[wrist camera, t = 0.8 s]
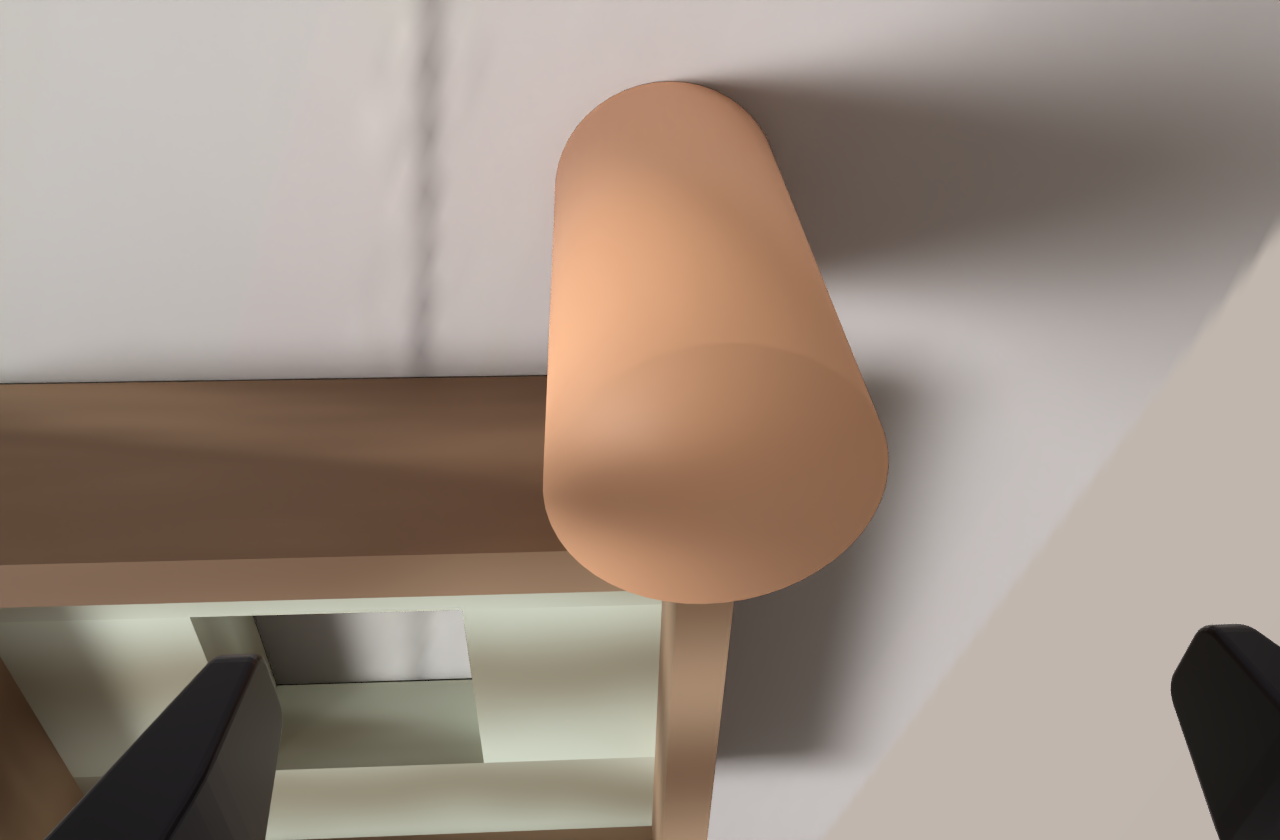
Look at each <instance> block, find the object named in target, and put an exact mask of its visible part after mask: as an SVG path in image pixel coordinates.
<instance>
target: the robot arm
mask: <svg viewBox="0 0 1280 840" xmlns="http://www.w3.org/2000/svg"><path fill="white" fill-rule="evenodd" d="M1171 696H1172V701H1173V704H1174V708H1175V710H1176V713H1177V716H1178V719H1179V722H1180V725H1181V728H1182V731H1183V734H1184V737H1185V740H1186V743H1187V746H1188V749H1189V752H1190V755H1191V758H1192V761H1193V764H1194V766H1195V770H1196V773H1197V776H1198V778H1199V782H1200V784H1201V788H1202V790H1203V793H1204V796H1205V799H1206V802H1207V805H1208V808H1209V811H1210V814H1211V817H1212V820H1213V823H1214V826H1215V829H1216V831H1217V834H1218V836H1219V839H1220V840H1280V646H1278V645H1277V644H1275V643H1274V642H1272V641H1271V640H1270V639H1268V638H1267V637H1265V636H1264V635H1263V634H1261V633H1260V632H1258V631H1257V630H1255V629H1253V628H1251V627H1249V626H1246V625H1241V624H1224V625H1208V626H1204V627H1203V628H1201V629H1200V630H1198V632H1197V633H1196V634H1195V636H1194V638H1193V640H1192V641H1191V643H1190V645H1189V647H1188V649H1187V651H1186V652H1185V654H1184V656H1183V658H1182V659H1181V662H1180V663H1179V665H1178V667H1177V668H1176V670H1175V672H1174V674H1173V676H1172V681H1171ZM282 722H283V719H282V708H281V704H280V701H279V698H278V695H277V692H276V689H275V686H274V683H273V681H272V678H271V675H270V672H269V669H268V666H267V663H266V661H265V659H264V658H263V657H262V656H261V655H259V654H224V655H219V656H217V657H215V658H213V659H212V660H211V661H210V662H208V663H207V664H206V666H205V667H204V668H203V669H202V670H201V671H200V672H199V673H198V674H197V675H196V676H195V677H194V678H193V679H192V681H191V682H190V683H189V684H188V685H187V686H186V687H185V688H184V689H183V690H182V691H181V692H180V693H179V695H178V696H177V697H176V698H175V699H174V700H173V701H172V702H171V703H170V704H169V705H168V706H167V707H166V708H165V710H164V711H163V712H162V713H161V714H160V715H159V716H158V717H157V718H156V719H155V720H154V721H153V722H152V724H151V725H150V726H149V727H148V728H147V729H146V730H145V731H144V732H143V733H142V734H141V735H140V736H139V737H138V739H137V740H136V741H135V742H134V743H133V744H132V745H131V746H130V747H129V748H128V749H127V750H126V751H125V753H124V754H123V755H122V756H121V757H120V758H119V759H118V760H117V761H116V762H115V763H114V764H113V765H112V766H111V768H110V769H109V770H108V771H107V772H106V773H105V774H104V775H103V776H102V777H101V778H100V779H99V780H98V782H97V783H96V784H95V785H94V786H93V787H92V788H91V789H90V790H89V791H88V792H87V793H86V794H85V795H84V797H83V798H82V799H81V800H80V801H79V802H78V803H77V804H76V805H75V806H74V807H73V808H72V809H71V811H70V812H69V813H68V814H67V815H66V816H65V817H64V818H63V819H62V820H61V821H60V822H59V823H58V824H57V826H56V827H55V828H54V829H53V830H52V831H51V832H50V833H49V834H48V835H47V836H46V837H45V838H44V840H265V838H266V831H267V825H268V818H269V812H270V805H271V799H272V792H273V786H274V779H275V773H276V766H277V760H278V753H279V747H280V740H281V734H282Z"/></svg>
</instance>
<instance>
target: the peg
mask: <svg viewBox="0 0 1280 840" xmlns="http://www.w3.org/2000/svg"><path fill="white" fill-rule="evenodd" d="M888 468H889V464H888V447H887V442H886V438H885V433H884V431H883V428H882V426H881V423H880V421H879V418H878V416H877V413H876V411H875V408H874V406H873V403H872V401H871V398H870V396H869V393H868V391H867V388H866V386H865V383H864V381H863V378H862V376H861V373H860V371H859V368H858V366H857V363H856V361H855V358H854V356H853V353H852V351H851V348H850V346H849V343H848V341H847V338H846V336H845V333H844V331H843V328H842V326H841V323H840V321H839V318H838V316H837V313H836V311H835V308H834V306H833V303H832V301H831V298H830V296H829V293H828V291H827V288H826V286H825V283H824V281H823V278H822V276H821V273H820V271H819V268H818V266H817V263H816V261H815V258H814V256H813V253H812V251H811V248H810V246H809V243H808V241H807V238H806V236H805V233H804V231H803V228H802V226H801V223H800V221H799V218H798V216H797V213H796V211H795V208H794V206H793V203H792V201H791V198H790V196H789V193H788V191H787V188H786V186H785V183H784V181H783V178H782V176H781V173H780V171H779V168H778V166H777V163H776V161H775V158H774V156H773V153H772V151H771V148H770V146H769V144H768V141H767V139H766V137H765V135H764V133H763V132H762V130H761V128H760V127H759V125H758V124H757V123H756V122H755V120H754V119H753V118H752V117H751V115H750V114H749V113H747V112H746V111H745V110H744V109H743V108H742V107H741V106H740V105H739V104H737V103H736V102H734V101H733V100H731V99H730V98H729V97H727V96H725V95H723V94H721V93H719V92H717V91H715V90H712V89H709V88H707V87H704V86H701V85H696V84H691V83H686V82H672V81H668V82H654V83H649V84H644V85H639V86H636V87H633V88H630V89H627V90H624V91H622V92H620V93H618V94H616V95H614V96H612V97H610V98H609V99H607V100H606V101H604V102H603V103H601V104H600V105H598V106H597V107H596V108H595V109H594V110H592V111H591V112H590V113H589V114H588V115H587V116H586V117H585V118H584V119H583V120H582V121H581V123H580V124H579V125H578V126H577V127H576V129H575V130H574V132H573V133H572V135H571V136H570V138H569V139H568V141H567V144H566V146H565V148H564V150H563V152H562V155H561V158H560V161H559V164H558V169H557V174H556V183H555V207H554V231H553V255H552V278H551V302H550V326H549V350H548V374H547V397H546V421H545V445H544V469H543V496H544V503H545V509H546V512H547V515H548V518H549V521H550V524H551V526H552V528H553V530H554V531H555V533H556V535H557V537H558V539H559V540H560V542H561V543H562V544H563V546H564V547H565V548H566V550H567V551H568V552H569V553H570V554H571V555H572V556H573V557H574V558H575V559H576V560H577V561H578V562H579V563H580V564H581V565H582V566H584V567H585V568H586V569H587V570H589V571H590V572H591V573H593V574H594V575H596V576H597V577H599V578H601V579H602V580H604V581H606V582H608V583H609V584H611V585H614V586H616V587H618V588H620V589H623V590H625V591H627V592H630V593H634V594H637V595H640V596H643V597H646V598H651V599H656V600H661V601H666V602H675V603H684V604H713V603H727V602H733V601H739V600H745V599H750V598H754V597H758V596H762V595H766V594H769V593H771V592H774V591H777V590H780V589H783V588H786V587H788V586H790V585H792V584H794V583H797V582H799V581H801V580H803V579H805V578H807V577H809V576H810V575H812V574H814V573H815V572H817V571H819V570H821V569H822V568H823V567H825V566H826V565H828V564H829V563H830V562H832V561H833V560H835V559H836V558H837V557H838V556H839V555H841V554H842V553H843V552H844V551H845V550H846V549H847V548H848V547H849V546H851V544H852V543H853V542H854V541H855V540H856V539H857V538H858V537H859V535H860V534H861V533H862V532H863V531H864V529H865V528H866V526H867V525H868V523H869V522H870V520H871V519H872V517H873V516H874V514H875V512H876V510H877V508H878V506H879V503H880V501H881V499H882V496H883V492H884V489H885V486H886V482H887V475H888Z"/></svg>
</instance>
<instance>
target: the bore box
mask: <svg viewBox="0 0 1280 840" xmlns="http://www.w3.org/2000/svg"><path fill="white" fill-rule="evenodd" d="M546 397H547V376H520V377H455V378H391V379H326V380H261V381H197V382H132V383H67V384H3V385H0V840H44V838H45V837H46V836H47V835H48V834H49V833H50V832H51V831H52V830H53V829H54V828H55V827H56V826H57V824H58V823H59V822H60V821H61V820H62V819H63V818H64V817H65V816H66V815H67V814H68V813H69V812H70V811H71V809H72V808H73V807H74V806H75V805H76V804H77V803H78V802H79V801H80V800H81V799H82V798H83V797H84V795H85V794H86V793H87V792H88V791H89V790H90V789H91V788H92V787H93V786H94V785H95V784H96V783H97V782H98V780H99V779H100V778H101V777H102V776H103V775H104V774H105V773H106V772H107V771H108V770H109V769H110V768H111V766H112V765H113V764H114V763H115V762H116V761H117V760H118V759H119V758H120V757H121V756H122V755H123V754H124V753H125V751H126V750H127V749H128V748H129V747H130V746H131V745H132V744H133V743H134V742H135V741H136V740H137V739H138V737H139V736H140V735H141V734H142V733H143V732H144V731H145V730H146V729H147V728H148V727H149V726H150V725H151V724H152V722H153V721H154V720H155V719H156V718H157V717H158V716H159V715H160V714H161V713H162V712H163V711H164V710H165V708H166V707H167V706H168V705H169V704H170V703H171V702H172V701H173V700H174V699H175V698H176V697H177V696H178V695H179V693H180V692H181V691H182V690H183V689H184V688H185V687H186V686H187V685H188V684H189V683H190V682H191V681H192V679H193V678H194V677H195V676H196V675H197V674H198V673H199V672H200V671H201V670H202V669H203V668H204V667H205V666H206V664H207V663H208V662H210V661H211V660H212V659H213V658H215V657H217V656H219V655H224V654H259V655H261V656H262V657H263V658H264V659H265V661H266V663H267V666H268V669H269V672H270V675H271V678H272V681H273V683H274V686H275V689H276V692H277V695H278V698H279V701H280V704H281V708H282V719H283V722H282V734H281V740H280V747H279V753H278V760H277V766H276V773H275V779H274V786H273V792H272V799H271V805H270V812H269V818H268V825H267V831H266V838H265V840H707V836H708V827H709V818H710V809H711V800H712V791H713V782H714V774H715V765H716V756H717V747H718V738H719V729H720V720H721V712H722V703H723V694H724V685H725V676H726V667H727V658H728V650H729V641H730V632H731V623H732V614H733V605H734V601H733V602H727V603H713V604H684V603H675V602H666V601H661V600H656V599H651V598H646V597H643V596H640V595H637V594H634V593H630V592H627V591H625V590H623V589H620V588H618V587H616V586H614V585H611V584H609V583H608V582H606V581H604V580H602V579H601V578H599V577H597V576H596V575H594V574H593V573H591V572H590V571H589V570H587V569H586V568H585V567H584V566H582V565H581V564H580V563H579V562H578V561H577V560H576V559H575V558H574V557H573V556H572V555H571V554H570V553H569V552H568V551H567V550H566V548H565V547H564V546H563V544H562V543H561V542H560V540H559V539H558V537H557V535H556V533H555V531H554V530H553V528H552V526H551V524H550V521H549V518H548V515H547V512H546V509H545V503H544V496H543V469H544V445H545V421H546ZM438 610H462V612H463V619H464V626H465V633H466V640H467V647H468V654H469V661H470V668H471V675H472V680H442V681H410V682H378V683H346V684H314V685H281V686H277V685H276V682H275V679H274V677H273V674H272V671H271V668H270V665H269V662H268V659H267V656H266V653H265V650H264V647H263V644H262V641H261V638H260V636H259V633H258V630H257V627H256V624H255V621H254V618H253V616H256V615H292V614H329V613H365V612H401V611H438Z"/></svg>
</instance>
